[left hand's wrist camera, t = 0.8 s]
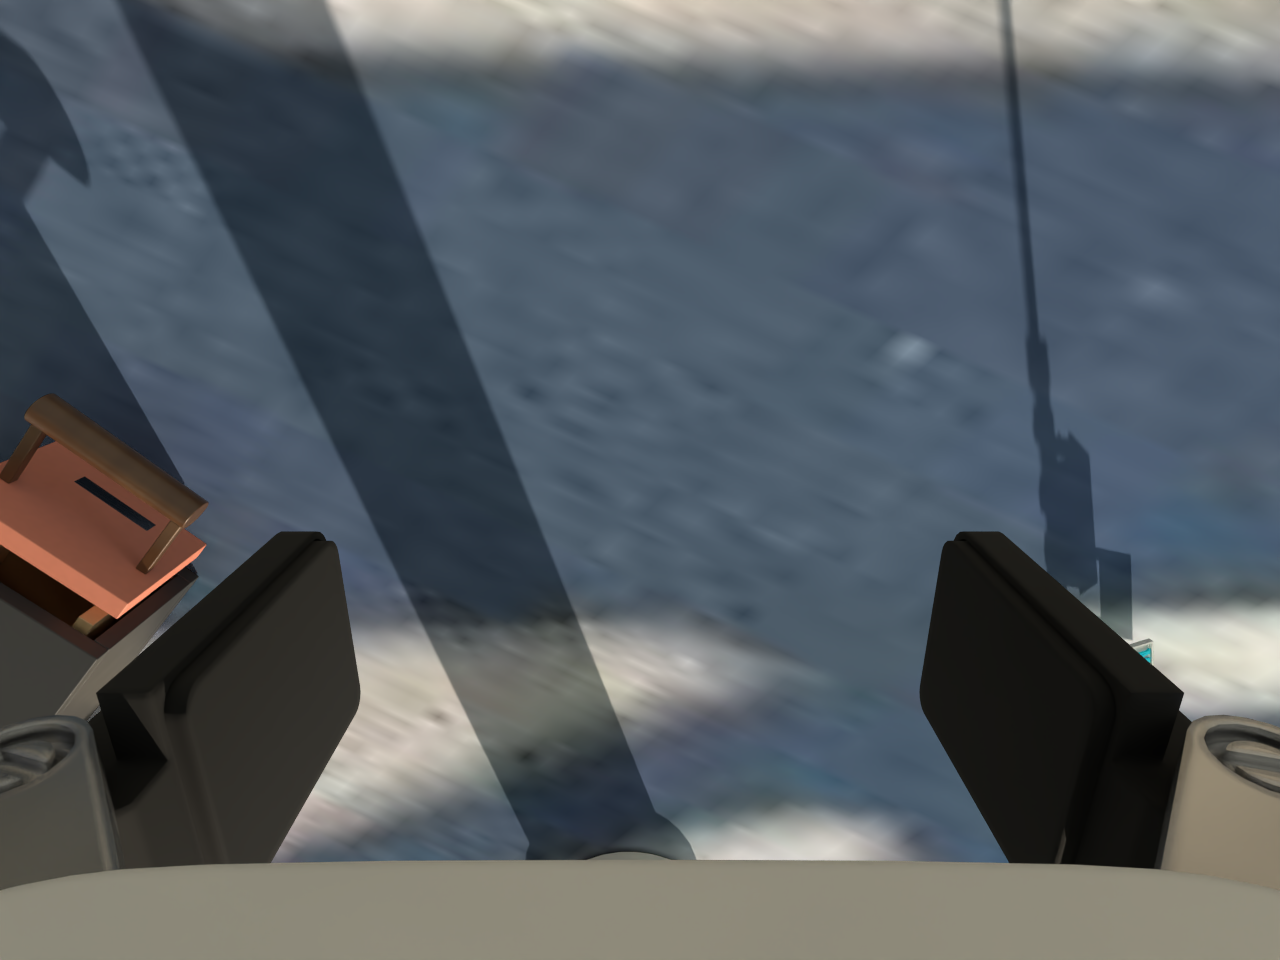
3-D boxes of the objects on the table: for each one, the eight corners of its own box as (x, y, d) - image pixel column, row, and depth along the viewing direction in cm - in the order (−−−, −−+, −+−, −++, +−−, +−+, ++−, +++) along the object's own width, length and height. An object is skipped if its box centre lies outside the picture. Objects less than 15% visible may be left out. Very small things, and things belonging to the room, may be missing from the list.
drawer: (103, 368, 39) (-5, 399, 32) (256, 479, 41) (183, 529, 34) (-84, 657, 45) (-207, 731, 39) (57, 739, 47) (-37, 823, 41)
